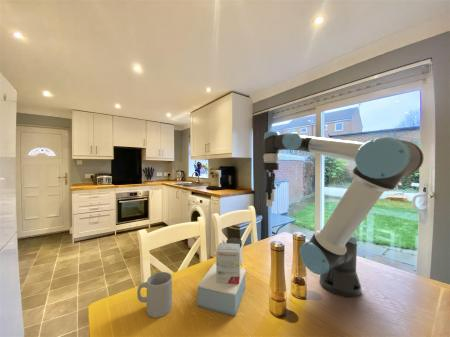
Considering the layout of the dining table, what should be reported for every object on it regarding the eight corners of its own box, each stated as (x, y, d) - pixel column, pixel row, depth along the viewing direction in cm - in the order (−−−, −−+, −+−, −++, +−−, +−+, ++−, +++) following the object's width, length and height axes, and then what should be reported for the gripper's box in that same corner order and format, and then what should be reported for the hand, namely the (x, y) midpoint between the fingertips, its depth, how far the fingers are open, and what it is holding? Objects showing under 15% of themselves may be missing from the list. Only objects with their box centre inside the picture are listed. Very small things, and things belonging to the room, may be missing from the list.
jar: (233, 269, 95) (233, 245, 95) (222, 263, 101) (222, 240, 100) (245, 263, 101) (245, 240, 101) (234, 257, 107) (234, 236, 107)
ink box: (240, 271, 78) (240, 242, 78) (239, 284, 70) (239, 252, 70) (219, 270, 80) (219, 241, 79) (215, 282, 71) (215, 250, 71)
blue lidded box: (245, 288, 81) (245, 271, 81) (235, 316, 65) (235, 295, 65) (214, 281, 85) (214, 265, 85) (197, 306, 70) (197, 287, 70)
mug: (174, 300, 73) (174, 271, 73) (168, 317, 65) (168, 285, 64) (141, 301, 72) (141, 272, 72) (132, 319, 64) (132, 286, 64)
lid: (245, 270, 81) (245, 268, 81) (235, 295, 65) (235, 293, 65) (214, 264, 85) (214, 263, 85) (197, 286, 70) (197, 285, 70)
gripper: (266, 162, 112) (265, 199, 112) (260, 161, 88) (259, 207, 89) (279, 162, 110) (279, 199, 110) (277, 161, 86) (276, 209, 86)
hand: (270, 203), depth 99 cm, fingers open, 13 cm apart
